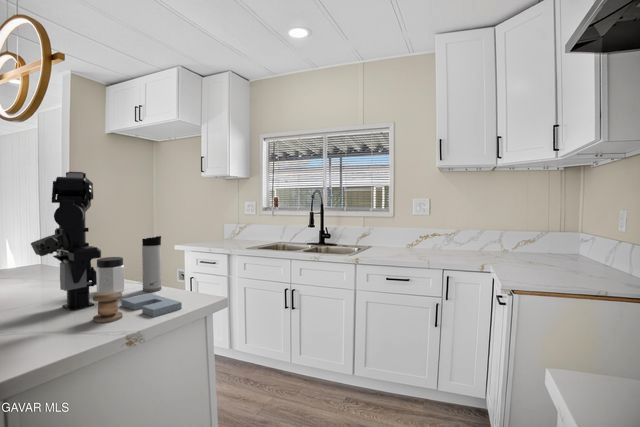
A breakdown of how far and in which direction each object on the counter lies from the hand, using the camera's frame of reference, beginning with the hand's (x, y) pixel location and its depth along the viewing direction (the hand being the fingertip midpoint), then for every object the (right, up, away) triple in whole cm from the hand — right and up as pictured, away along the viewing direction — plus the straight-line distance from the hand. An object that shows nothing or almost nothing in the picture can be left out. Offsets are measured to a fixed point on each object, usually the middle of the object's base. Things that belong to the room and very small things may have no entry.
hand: (73, 282), depth 92 cm
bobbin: (+7, -11, +4) cm, 14 cm away
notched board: (+14, -11, +14) cm, 23 cm away
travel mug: (+4, -10, +34) cm, 36 cm away
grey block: (0, -2, 0) cm, 2 cm away
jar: (-9, -10, +32) cm, 35 cm away
